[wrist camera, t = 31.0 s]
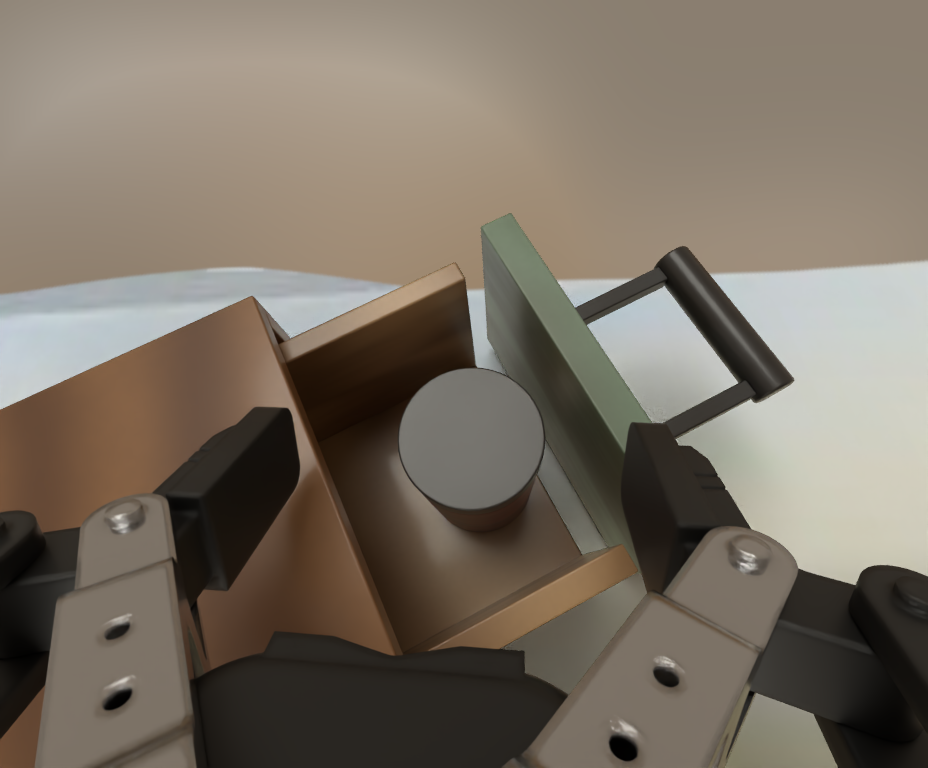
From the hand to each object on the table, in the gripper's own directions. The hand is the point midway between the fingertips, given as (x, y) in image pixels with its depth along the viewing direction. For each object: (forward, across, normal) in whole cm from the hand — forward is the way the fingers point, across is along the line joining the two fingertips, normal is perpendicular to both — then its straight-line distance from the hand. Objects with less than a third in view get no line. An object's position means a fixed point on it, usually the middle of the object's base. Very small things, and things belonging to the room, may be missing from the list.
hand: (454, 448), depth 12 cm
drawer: (+9, 0, +7) cm, 11 cm away
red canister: (+8, 0, +6) cm, 10 cm away
